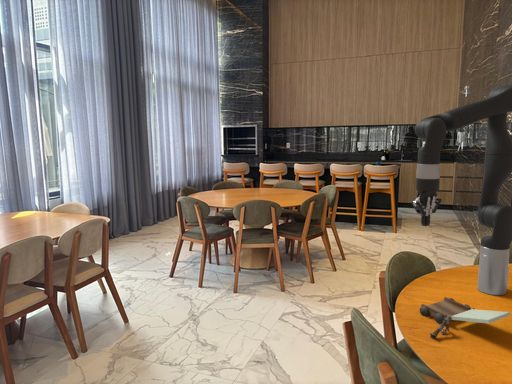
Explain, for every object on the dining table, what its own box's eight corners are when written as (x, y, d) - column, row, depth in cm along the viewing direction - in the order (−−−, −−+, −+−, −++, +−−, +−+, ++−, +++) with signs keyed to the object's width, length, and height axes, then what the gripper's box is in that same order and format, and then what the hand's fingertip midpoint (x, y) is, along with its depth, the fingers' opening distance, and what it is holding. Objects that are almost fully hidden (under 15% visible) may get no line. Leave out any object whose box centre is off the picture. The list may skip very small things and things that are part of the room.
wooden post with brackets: (453, 329, 114) (450, 317, 113) (438, 346, 111) (435, 335, 109) (447, 326, 116) (444, 315, 114) (432, 343, 112) (429, 332, 111)
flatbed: (447, 304, 132) (447, 296, 132) (476, 317, 123) (476, 308, 122) (418, 313, 126) (419, 305, 125) (447, 327, 117) (447, 318, 116)
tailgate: (471, 309, 122) (509, 312, 111) (472, 312, 122) (510, 315, 111) (451, 316, 117) (488, 319, 107) (451, 319, 117) (489, 323, 107)
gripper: (423, 179, 125) (421, 230, 128) (450, 176, 131) (447, 225, 134) (405, 177, 132) (403, 225, 134) (431, 174, 138) (429, 221, 140)
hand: (425, 225), depth 134 cm, fingers closed
